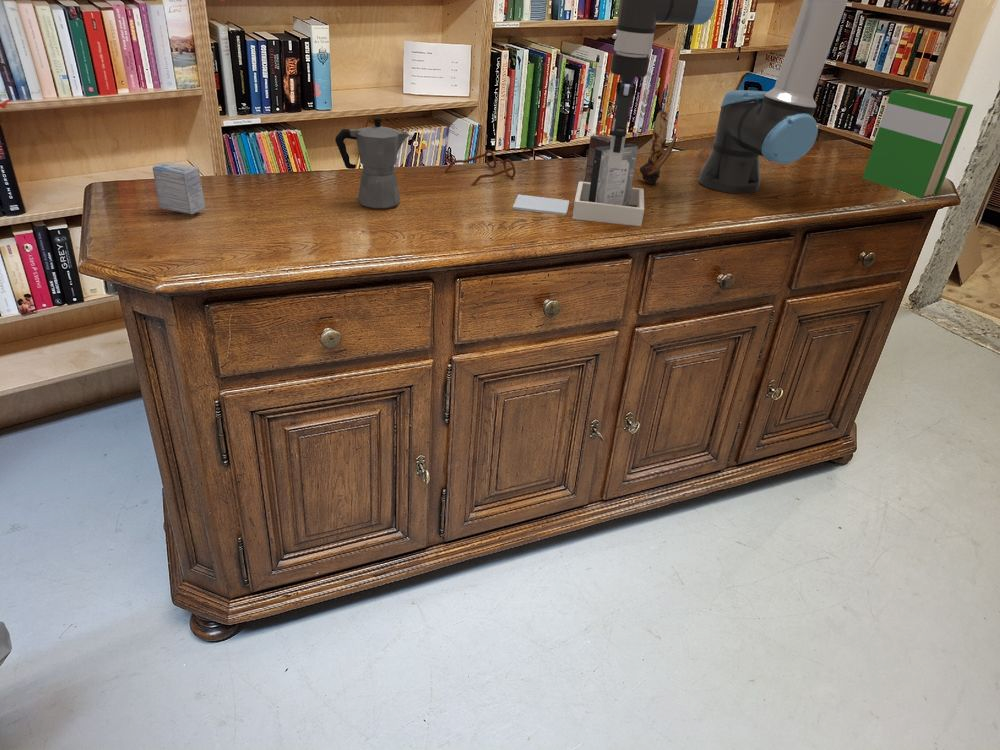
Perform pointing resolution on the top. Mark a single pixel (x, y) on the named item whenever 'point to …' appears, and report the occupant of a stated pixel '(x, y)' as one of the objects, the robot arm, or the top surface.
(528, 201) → the mat
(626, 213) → the storage box
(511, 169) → the glasses
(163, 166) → the medicine box
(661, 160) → the bone fish hook
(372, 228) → the top surface
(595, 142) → the box
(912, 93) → the hardback book
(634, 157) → the disk drive
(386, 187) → the coffeepot
